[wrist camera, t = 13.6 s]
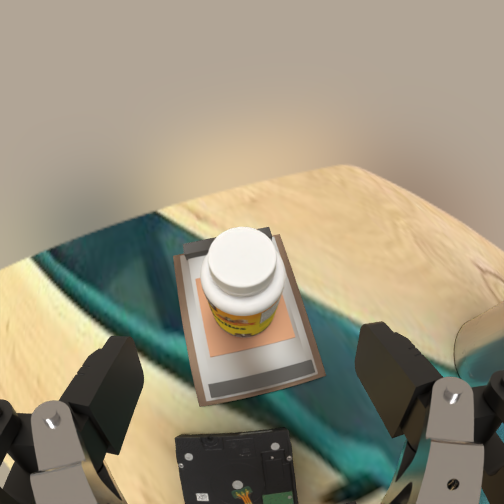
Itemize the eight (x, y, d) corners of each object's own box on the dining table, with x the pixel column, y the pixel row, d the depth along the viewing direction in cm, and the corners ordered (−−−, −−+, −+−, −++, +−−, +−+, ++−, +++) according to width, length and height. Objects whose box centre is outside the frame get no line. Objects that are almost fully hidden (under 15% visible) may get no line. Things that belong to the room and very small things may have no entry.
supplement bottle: (200, 310, 24) (173, 256, 16) (242, 270, 26) (240, 200, 18) (245, 352, 23) (244, 322, 14) (287, 307, 25) (310, 252, 16)
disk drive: (178, 433, 22) (201, 547, 14) (171, 436, 19) (197, 558, 12) (285, 424, 23) (301, 539, 15) (289, 427, 20) (306, 549, 13)
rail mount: (278, 239, 32) (282, 219, 29) (322, 376, 24) (334, 372, 21) (175, 261, 30) (167, 242, 27) (201, 406, 23) (193, 407, 19)
